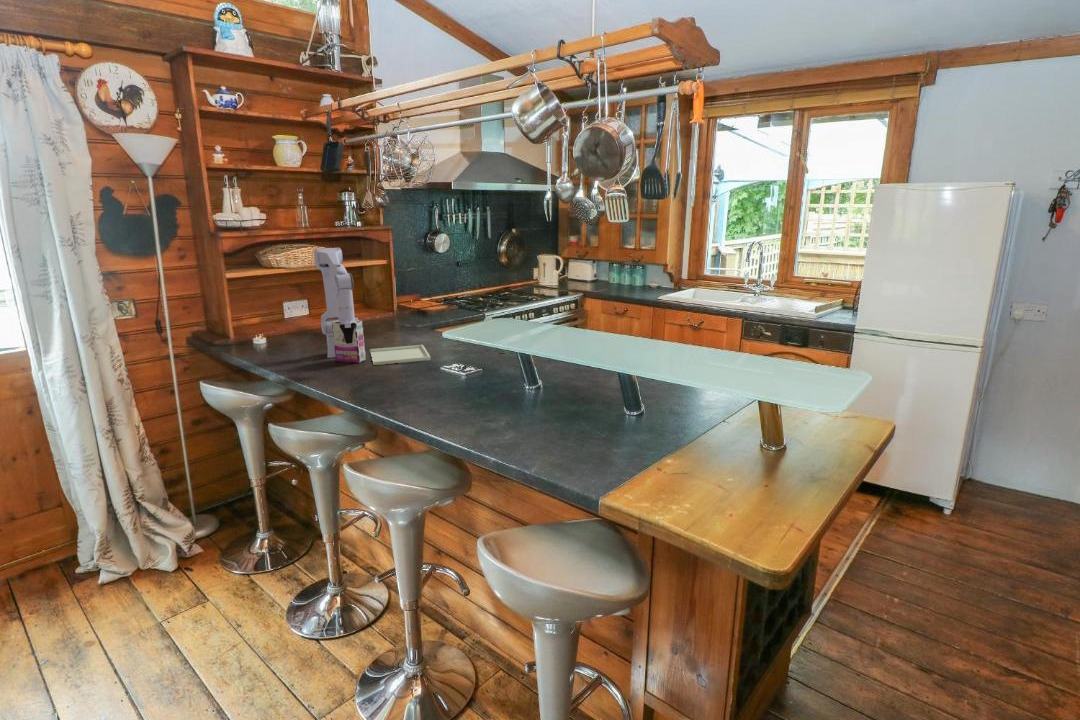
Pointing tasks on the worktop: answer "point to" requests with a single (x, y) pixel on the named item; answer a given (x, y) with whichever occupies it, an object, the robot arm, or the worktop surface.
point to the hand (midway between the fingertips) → (349, 343)
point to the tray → (399, 355)
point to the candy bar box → (349, 351)
